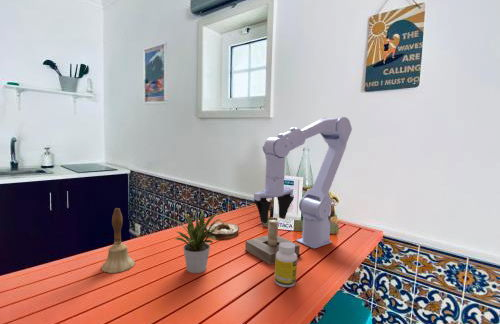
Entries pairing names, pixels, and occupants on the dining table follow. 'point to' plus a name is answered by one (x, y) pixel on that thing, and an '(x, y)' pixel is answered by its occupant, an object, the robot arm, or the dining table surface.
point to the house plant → (197, 243)
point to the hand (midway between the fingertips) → (273, 220)
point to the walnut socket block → (266, 248)
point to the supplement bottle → (286, 265)
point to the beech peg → (272, 233)
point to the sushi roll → (224, 230)
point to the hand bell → (117, 249)
